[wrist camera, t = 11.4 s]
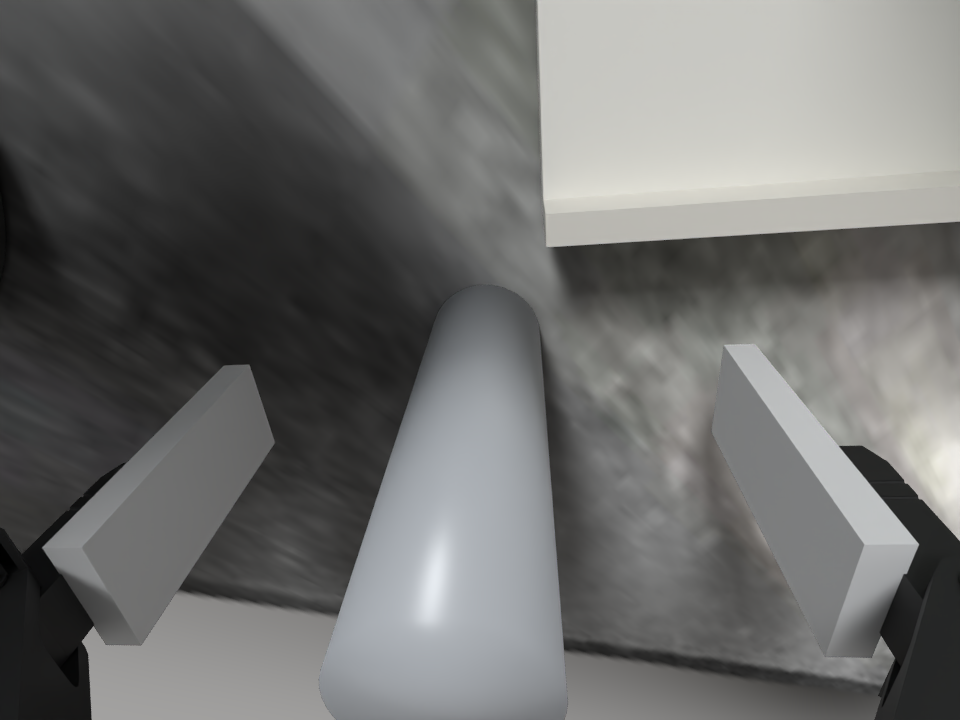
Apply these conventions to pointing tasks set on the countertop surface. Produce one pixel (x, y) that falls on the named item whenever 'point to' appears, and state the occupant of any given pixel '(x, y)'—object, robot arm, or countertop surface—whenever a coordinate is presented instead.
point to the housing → (745, 116)
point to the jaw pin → (460, 539)
